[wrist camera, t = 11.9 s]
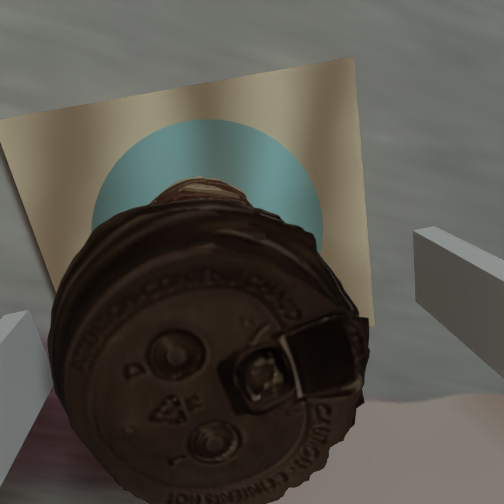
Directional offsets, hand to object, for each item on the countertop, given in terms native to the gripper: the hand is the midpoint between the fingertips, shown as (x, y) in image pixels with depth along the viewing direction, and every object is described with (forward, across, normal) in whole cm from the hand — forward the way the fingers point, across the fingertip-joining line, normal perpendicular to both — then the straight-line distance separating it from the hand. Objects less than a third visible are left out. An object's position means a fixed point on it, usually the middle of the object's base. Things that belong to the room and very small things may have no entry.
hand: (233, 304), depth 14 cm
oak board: (+9, 0, 0) cm, 9 cm away
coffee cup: (+8, +1, 0) cm, 8 cm away
